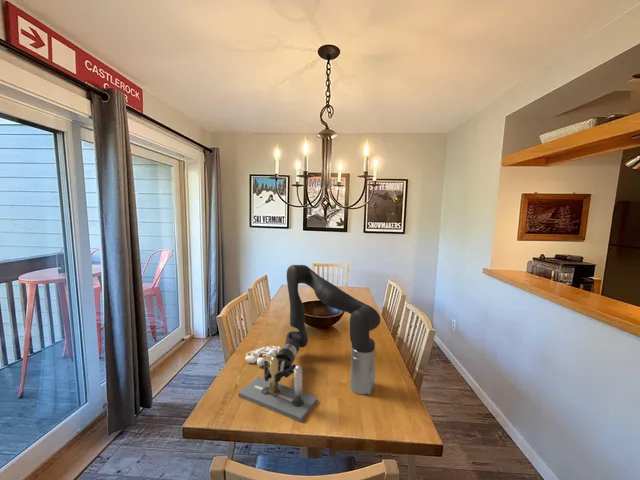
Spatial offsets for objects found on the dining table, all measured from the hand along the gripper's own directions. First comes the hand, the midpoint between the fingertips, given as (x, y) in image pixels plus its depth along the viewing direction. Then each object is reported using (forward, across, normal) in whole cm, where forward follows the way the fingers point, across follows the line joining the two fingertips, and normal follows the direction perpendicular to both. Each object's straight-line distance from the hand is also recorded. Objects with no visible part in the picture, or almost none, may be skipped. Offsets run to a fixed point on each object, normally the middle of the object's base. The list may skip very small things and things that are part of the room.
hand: (271, 379), depth 105 cm
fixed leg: (0, +10, +8) cm, 13 cm away
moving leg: (-3, 0, +7) cm, 8 cm away
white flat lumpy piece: (-30, -16, +10) cm, 35 cm away
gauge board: (-2, +2, +9) cm, 9 cm away
